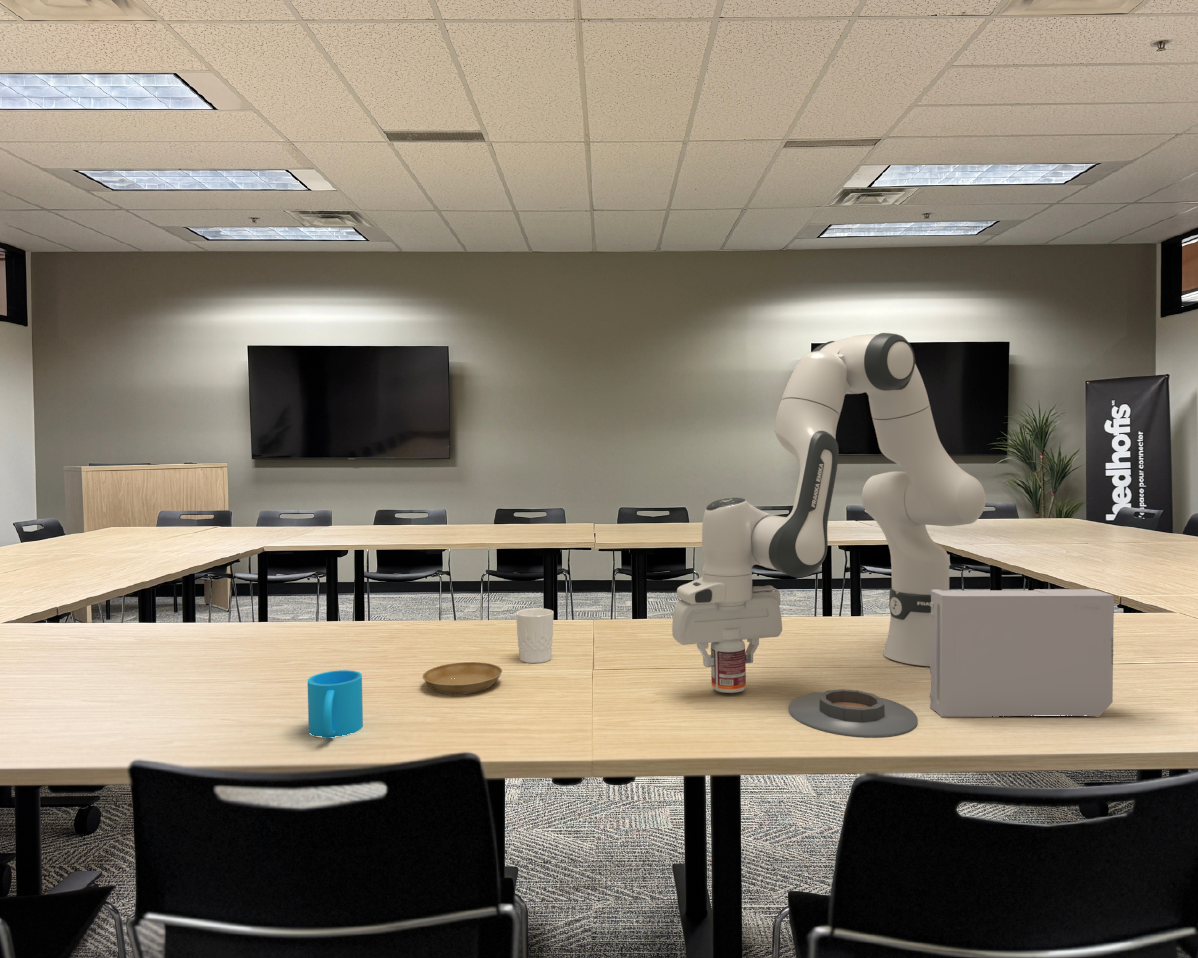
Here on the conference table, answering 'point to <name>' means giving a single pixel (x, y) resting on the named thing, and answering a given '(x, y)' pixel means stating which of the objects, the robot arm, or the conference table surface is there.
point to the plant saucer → (462, 677)
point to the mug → (335, 703)
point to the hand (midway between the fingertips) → (728, 664)
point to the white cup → (535, 634)
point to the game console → (1021, 652)
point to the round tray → (855, 729)
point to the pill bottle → (729, 663)
